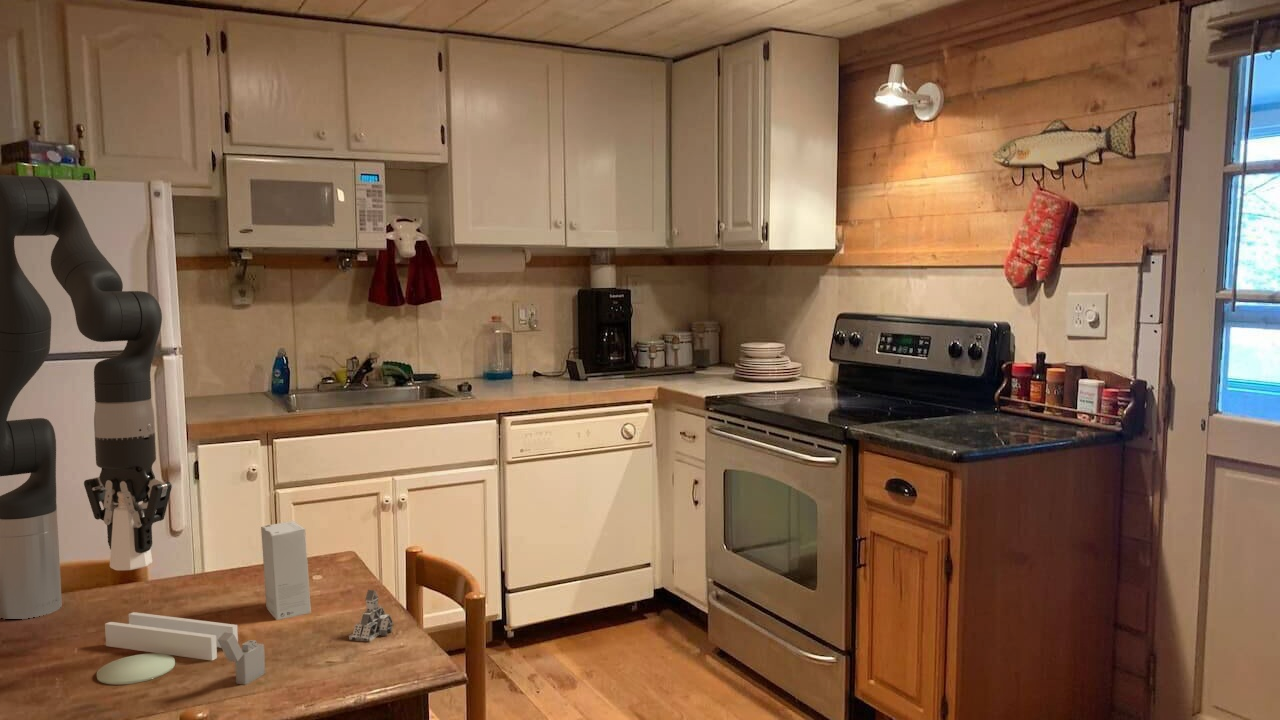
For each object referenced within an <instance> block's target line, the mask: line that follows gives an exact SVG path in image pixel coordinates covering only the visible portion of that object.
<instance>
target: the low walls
mask: <svg viewBox="0 0 1280 720" xmlns="http://www.w3.org/2000/svg"><path fill="white" fill-rule="evenodd" d="M104 629H105V630H104V633H105V647H111V648H118V649H124V650H132V651H133V650H134V651H141V652H147V653H159V654H167V655H170V656H174V657H175V656H176V657H177V656H178V657H182V658H183V657H184V658H189V659H198V660H205V661H214V660H217V658H218V652H217V651H218V649H217V648H220V649H222V648H221V646H220V644H219V642H218V639H219V638H220V637H221V636H222V635H223V633H224V632H226V633H233V634H234V635H235V637H236V639H237V641H238V642H239V636H238V635H239V634H238V624H233V623H231V624H230V623H225V622H218V621H217V622H215V621H208V620H200V619H193V618H183V617H176V616H168V615H159V614H151V613H143V612H136V611H135V612H134V611H133V612H131V613H128V623H122V622H115V621H109V622H106V623H104Z"/></svg>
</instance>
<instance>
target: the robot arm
mask: <svg viewBox="0 0 1280 720" xmlns="http://www.w3.org/2000/svg"><path fill="white" fill-rule="evenodd" d="M90 234H91V233H89V230H88V228H87V226H86V224H85V222H84V220H83V217H82V215H81V214H80V211H79V210H78V207H77V206H76V203H75V202H74V200H73V198H72V196H71V194H70V193H69V191H68V190H67V189H66V187H65V186H64V184H62V183H61V182H60V181H59V180H57V179H56V178H53V177H47V176H38V175H37V176H36V175H35V176H33V175H13V174H11V175H10V174H6V175H5V174H0V477H8V476H18V475H24V474H29V477H28V478H27V480H26V481H25V482H24V483H22V484H21V485H20V486H18V487H16V488H15V489H12V490H10V491H8V492H6V493H4V494H1V495H0V617H1V618H4V619H3V620H5V619H22V620H28V618H30V619H34V618H33V617H35V618H40V617H43V615H44V616H47V615H50V614H52V613H54V612H56V611H58V610H60V609H61V608H62V606H63V604H62V603H63V601H62V580H61V566H60V565H61V563H60V559H61V558H60V545H59V541H60V540H59V528H58V526H59V525H58V510H57V509H58V507H57V438H56V431H55V429H54V426H53V424H52V423H51V421H50V420H49V419H47V418H44V417H38V418H36V417H35V418H24V419H23V418H22V419H13V420H11V419H10V420H8V416H9V413H10V410H11V408H12V406H13V404H14V402H15V400H16V398H17V397H18V395H19V394H20V392H21V391H22V390H23V389H24V387H25V386H26V385H27V384H28V383H29V381H30V380H31V379H33V377H34V376H35V375H36V373H37V372H38V371H39V369H41V367H42V366H43V364H44V363H45V361H46V359H48V356H49V353H50V350H51V341H52V340H51V339H52V313H51V310H50V308H49V306H48V305H47V303H46V302H45V300H44V299H43V297H42V295H41V294H40V293H39V292H38V290H37V289H36V287H35V286H34V285H33V284H32V283H31V281H30V280H29V278H28V277H27V276H26V274H25V272H24V271H23V269H22V268H21V266H20V264H19V262H18V259H17V255H16V249H15V238H16V237H29V236H30V237H38V236H39V237H45V236H54V237H56V238H58V239H57V241H56V243H55V245H54V247H53V248H52V251H51V255H50V267H51V271H52V274H53V275H54V277H55V279H56V281H57V282H58V283H59V285H60V286H61V287H62V289H63V290H65V292H66V293H67V295H68V296H69V298H70V301H71V303H72V307H73V310H74V315H75V321H76V326H77V329H78V331H79V333H80V334H82V335H83V336H84V337H85V338H87V339H88V340H91V341H93V342H96V343H97V342H99V343H105V342H107V343H108V342H124V341H125V342H126V343H125V344H126V345H125V347H124V349H123V350H122V352H121V353H120V354H118V355H117V356H113V357H109V358H106V359H101V360H100V361H98V362H97V363H95V365H94V368H93V382H94V384H93V385H94V413H93V414H94V415H93V427H94V428H93V429H94V447H95V448H94V449H95V451H94V453H95V464H96V466H97V467H98V468H100V469H101V471H100V473H99V476H98V477H92V478H88V479H85V480H84V482H83V487H84V489H85V492H86V495H87V498H88V501H89V504H90V508H91V511H92V513H93V518H94V519H95V520H97V521H98V520H101V521H103V523H104V524H105V525H106V528H107V529H106V530H107V545H108V546H109V550H110V551H111V540H112V526H113V513H114V509H115V508H116V507H118V503H119V502H118V500H119V499H118V498H119V497H118V495H117V492H122V493H123V494H124V498H125V501H126V505H127V509H128V512H130V513H132V517H133V521H134V525H135V526H136V527H135V528H134V545H135V551H136V552H137V553H143V552H146V551H149V550H150V549H151V548H152V547H153V529H152V528H153V524H155V523H158V522H161V521H163V520H164V519H165V516H166V512H167V507H168V503H169V499H170V494H171V491H172V487H173V486H172V483H171V482H170V481H165V482H161V480H158V479H156V476H155V474H154V472H153V464H154V463H155V462H156V459H157V455H156V454H157V451H156V450H157V448H156V432H155V431H156V430H155V429H156V427H155V414H154V413H155V412H154V407H153V401H152V383H151V382H152V381H151V370H152V369H151V368H152V364H153V360H154V356H155V355H154V354H155V350H156V347H157V342H158V340H159V339H158V338H159V335H160V332H161V327H162V322H163V313H162V310H161V306H160V304H159V302H158V300H157V299H156V297H155V296H153V295H152V294H151V293H150V292H148V291H142V290H141V291H140V290H131V291H129V290H125V291H124V290H123V285H124V284H123V281H122V278H121V276H120V274H119V273H118V271H117V270H116V269H115V267H114V266H113V265H112V264H111V263H110V262H109V260H107V258H106V257H105V255H103V253H101V251H100V250H99V248H98V247H97V246H96V244H95V242H94V240H93V239H92V237H91V235H90ZM100 502H101V504H102V507H103V509H102V507H101V504H100ZM137 502H139V503H140V502H142V503H140V504H139V505H137V504H136V503H137ZM141 510H143V514H144V517H143V518H142V514H141ZM60 607H61V608H60ZM46 614H47V615H46ZM39 616H40V617H39ZM1 618H0V619H1Z"/></svg>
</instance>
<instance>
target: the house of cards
mask: <svg viewBox="0 0 1280 720" xmlns="http://www.w3.org/2000/svg"><path fill="white" fill-rule="evenodd" d="M365 596H366V597H365V600H364V601H365V602H366V606H365V607H366V610H365V611H363V612H362V615H361V618H360V621H359V622H357V623H356V624H354V629H353V632H352V633H351V634H350V635H348V639H349V641H356V642H367V643H371V642H372V640H374V639H376V638H377V637H378V636H383V637H388V633H389V632H391V634H392V632H393V626H392V625H394V621H393V620H392V617H391V615H390V614H387V613H386V612H385V610H384V607H383V606H379V596H378V593H377V592H376V590H374V589H367V592H366V595H365Z"/></svg>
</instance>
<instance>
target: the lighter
mask: <svg viewBox="0 0 1280 720" xmlns="http://www.w3.org/2000/svg"><path fill="white" fill-rule="evenodd" d="M218 642H219V644H220V646H221V648H220V649H221V650H222V651H223V654H224V656H225V658H226V659H227V661H228V662H234V663H235V682H236V683H235V684H237V685H248V684H249V683H252V682H253V681H255V680H256V679H258V678H261V677H262V676H263V675H266V664H265V661H266V660H265V644H264V643H259V642H257V640H255V639H249V640H247V641H245V642H243V643H241V646H240V644H239V640H238V641H237V639H236V637H235V635H234V634H233V633H226V632H224V633H223V635H222V636H221V637H220V638H219V639H218Z"/></svg>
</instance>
